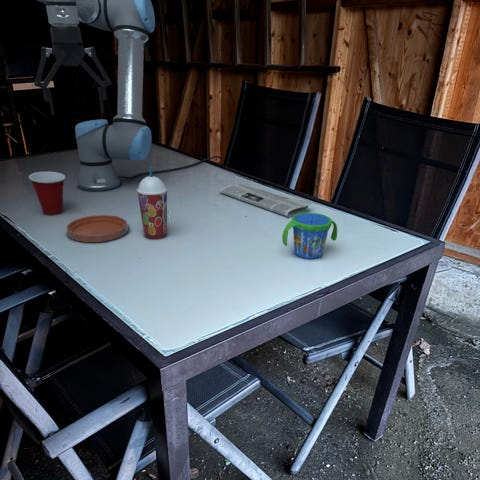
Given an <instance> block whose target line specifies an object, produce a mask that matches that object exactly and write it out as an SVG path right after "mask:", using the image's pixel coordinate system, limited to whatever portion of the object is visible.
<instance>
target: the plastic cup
mask: <svg viewBox="0 0 480 480" xmlns="http://www.w3.org/2000/svg"><path fill="white" fill-rule="evenodd" d="M28 179H29V180H30V182H31V184H32V186H33V189H34V191H35V194H36V196H37V199H38V202H39V205H40V207H41V209H42V212H43V214H45V215H48V216H55V215H59V214H61V213H63V211H64V207H63V206H64V182H65V179H66V175H65V174H63V173H61V172H57V171H38V172H34V173H31V174H29V175H28Z"/></svg>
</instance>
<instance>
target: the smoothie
mask: <svg viewBox="0 0 480 480" xmlns="http://www.w3.org/2000/svg"><path fill="white" fill-rule="evenodd" d="M148 169H149V170H148V172H150V174H149V175H148V176H145V177H144V178H143V179H142V180H140V181H139V184H138V187H137V188H136V193H137V198H138V203H139V211H140V217H141V223H142V230H143V233H144V235H145V236H146V238H148V239H153V240H154V239H155V240H156V239H162V238H164V237H166V233H167V232H168V187H166V185H165V183H164V181H163V180H162V179H161V178H159V177H158V176H154V175H153V173H152V172H153V169H152V165H149V166H148Z"/></svg>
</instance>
